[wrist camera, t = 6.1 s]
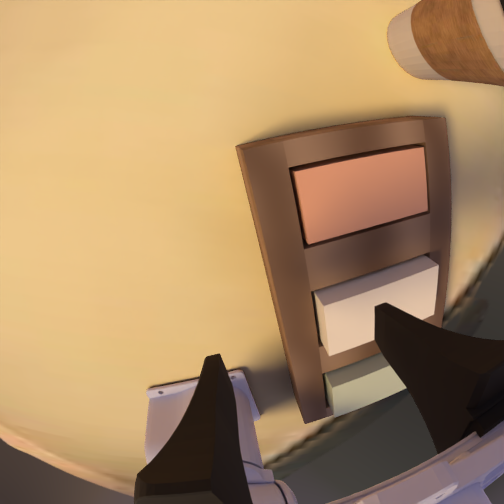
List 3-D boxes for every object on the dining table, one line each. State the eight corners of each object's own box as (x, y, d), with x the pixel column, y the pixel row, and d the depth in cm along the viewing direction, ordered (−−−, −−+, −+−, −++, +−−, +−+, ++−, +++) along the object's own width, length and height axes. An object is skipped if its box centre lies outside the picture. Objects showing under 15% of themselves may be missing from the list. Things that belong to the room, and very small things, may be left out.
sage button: (320, 386, 27) (334, 417, 23) (316, 355, 25) (332, 387, 22) (402, 354, 28) (422, 380, 24) (406, 322, 26) (428, 347, 22)
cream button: (312, 323, 24) (329, 356, 20) (304, 276, 22) (323, 306, 18) (408, 290, 24) (433, 314, 21) (408, 244, 23) (438, 264, 19)
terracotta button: (290, 224, 22) (308, 244, 18) (278, 163, 20) (294, 171, 17) (397, 196, 22) (427, 210, 19) (391, 141, 21) (423, 147, 17)
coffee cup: (381, -17, 15) (519, -80, 2) (457, 35, 17) (593, 24, 4) (362, 64, 18) (540, 29, 4) (443, 111, 20) (600, 135, 6)
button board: (294, 394, 29) (304, 424, 25) (235, 146, 19) (242, 150, 16) (413, 349, 30) (432, 372, 26) (412, 115, 20) (445, 117, 16)
